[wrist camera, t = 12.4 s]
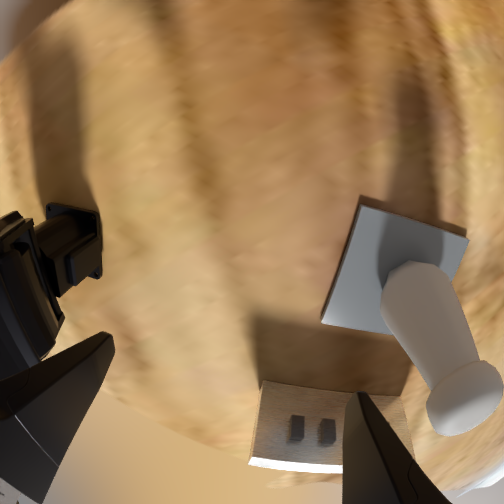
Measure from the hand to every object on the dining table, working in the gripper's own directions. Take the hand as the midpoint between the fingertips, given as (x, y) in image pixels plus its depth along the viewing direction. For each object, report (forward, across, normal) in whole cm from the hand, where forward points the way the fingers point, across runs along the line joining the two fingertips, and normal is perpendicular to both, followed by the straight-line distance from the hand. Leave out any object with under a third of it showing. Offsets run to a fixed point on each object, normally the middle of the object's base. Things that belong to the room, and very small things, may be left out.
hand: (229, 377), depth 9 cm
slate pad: (+13, -11, +1) cm, 17 cm away
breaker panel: (+13, -11, +16) cm, 23 cm away
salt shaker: (+13, -12, +1) cm, 17 cm away
